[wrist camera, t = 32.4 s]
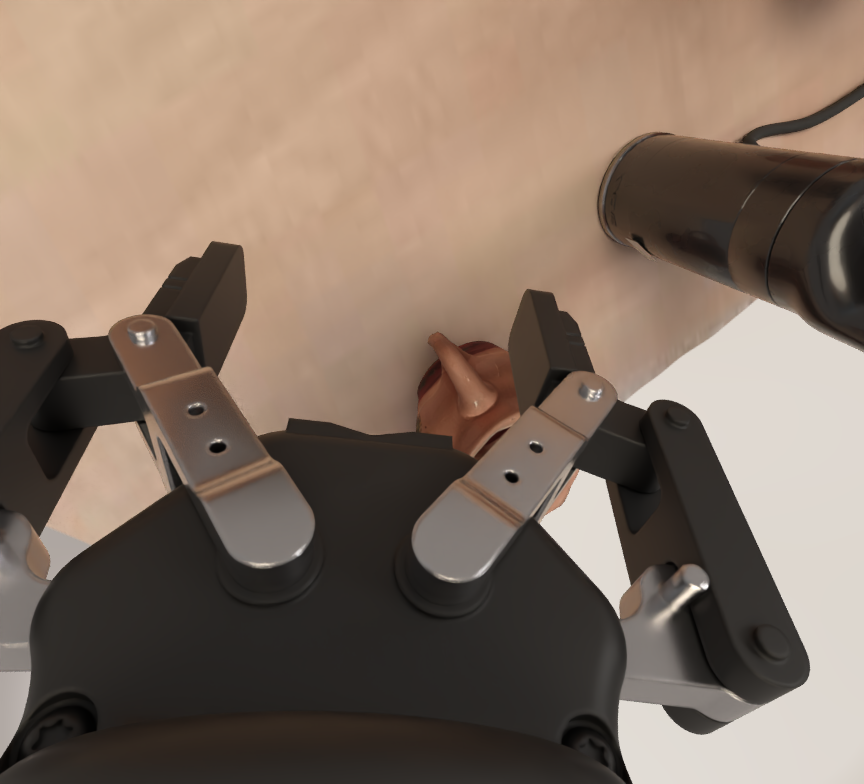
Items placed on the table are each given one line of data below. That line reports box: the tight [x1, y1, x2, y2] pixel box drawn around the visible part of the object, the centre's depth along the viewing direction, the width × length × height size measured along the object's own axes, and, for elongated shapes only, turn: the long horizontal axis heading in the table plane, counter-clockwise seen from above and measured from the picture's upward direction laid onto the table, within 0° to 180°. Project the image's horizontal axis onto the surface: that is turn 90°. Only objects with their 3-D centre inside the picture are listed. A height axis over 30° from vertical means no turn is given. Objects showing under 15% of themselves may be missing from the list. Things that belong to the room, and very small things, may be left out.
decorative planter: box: [416, 332, 579, 515], centre depth 44 cm, size 20×12×14 cm, turn 36°
